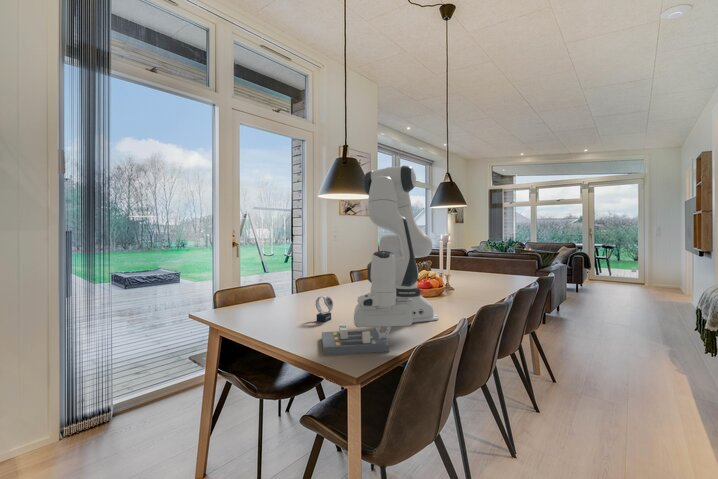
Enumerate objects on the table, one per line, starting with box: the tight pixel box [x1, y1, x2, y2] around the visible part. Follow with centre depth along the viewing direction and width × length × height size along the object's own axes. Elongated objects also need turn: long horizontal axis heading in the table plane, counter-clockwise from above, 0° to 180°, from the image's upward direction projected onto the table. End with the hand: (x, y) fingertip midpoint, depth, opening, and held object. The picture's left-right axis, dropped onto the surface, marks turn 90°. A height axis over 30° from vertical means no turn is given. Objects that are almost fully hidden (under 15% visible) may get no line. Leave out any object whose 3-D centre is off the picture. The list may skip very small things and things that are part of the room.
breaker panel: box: [321, 329, 390, 356], centre depth 127 cm, size 22×17×3 cm
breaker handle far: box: [338, 323, 347, 334], centre depth 132 cm, size 2×3×3 cm
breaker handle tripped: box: [362, 332, 370, 343], centre depth 122 cm, size 2×3×3 cm
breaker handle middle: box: [340, 327, 349, 339], centre depth 126 cm, size 2×3×3 cm
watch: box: [315, 295, 334, 324], centre depth 159 cm, size 6×8×11 cm
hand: (383, 338), depth 123 cm, fingers closed
